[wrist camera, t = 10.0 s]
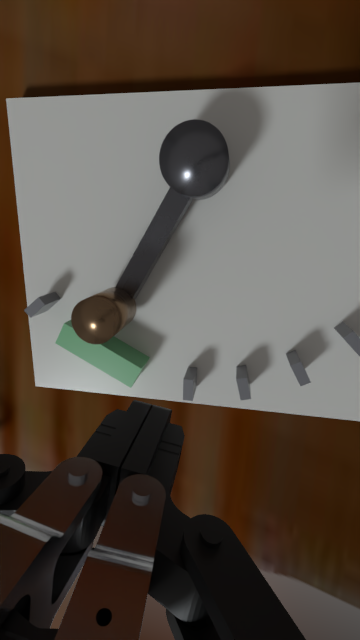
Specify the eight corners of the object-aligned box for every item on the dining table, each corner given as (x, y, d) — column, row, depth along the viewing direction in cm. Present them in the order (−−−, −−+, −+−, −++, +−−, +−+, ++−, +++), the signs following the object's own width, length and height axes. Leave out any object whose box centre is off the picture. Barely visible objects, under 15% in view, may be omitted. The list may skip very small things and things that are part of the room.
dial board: (18, 105, 27) (-19, 84, 23) (432, 88, 22) (472, 58, 18) (44, 379, 33) (18, 398, 29) (368, 413, 28) (388, 441, 24)
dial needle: (189, 120, 23) (174, 88, 18) (242, 154, 23) (242, 132, 18) (88, 309, 28) (54, 327, 23) (132, 337, 28) (107, 362, 23)
